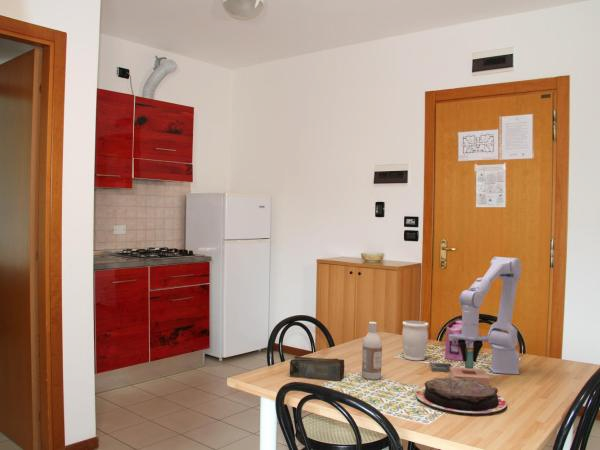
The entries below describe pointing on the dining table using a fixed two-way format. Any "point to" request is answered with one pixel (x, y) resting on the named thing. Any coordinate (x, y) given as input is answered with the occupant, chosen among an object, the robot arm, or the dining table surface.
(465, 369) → the socket
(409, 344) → the jar
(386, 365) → the dining table surface
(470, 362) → the pin
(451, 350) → the gum box
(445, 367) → the mount
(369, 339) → the bath foam
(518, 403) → the dining table surface
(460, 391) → the chocolate cake
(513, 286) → the robot arm
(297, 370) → the dark grey long block
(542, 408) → the dining table surface
